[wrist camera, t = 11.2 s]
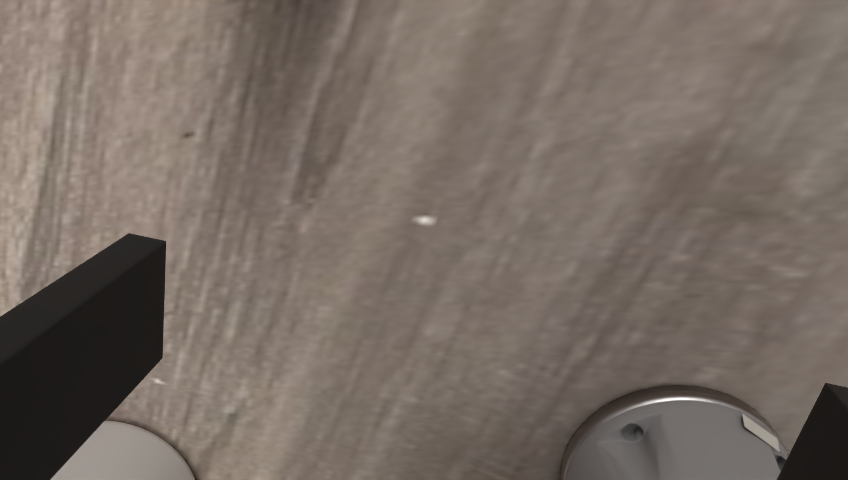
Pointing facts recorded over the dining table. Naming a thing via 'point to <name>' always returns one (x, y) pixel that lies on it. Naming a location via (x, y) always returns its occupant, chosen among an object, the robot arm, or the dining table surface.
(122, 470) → the cylinder vase
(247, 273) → the dining table surface
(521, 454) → the dining table surface
